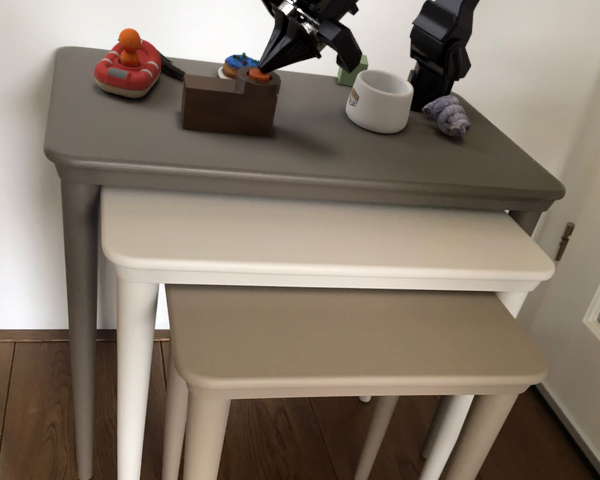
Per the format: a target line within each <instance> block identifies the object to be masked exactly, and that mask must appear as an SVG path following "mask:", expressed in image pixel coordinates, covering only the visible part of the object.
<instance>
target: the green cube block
mask: <svg viewBox="0 0 600 480" xmlns="http://www.w3.org/2000/svg"><path fill="white" fill-rule="evenodd" d="M364 70H369V59H368V56H367V54H362V58H361V61H360V64H359V65H358V66H357V67H356V68H355V69H354V70H353V71H352V72H351V73H350V74H349V73H348V72H346V71H345V70H343V69H342V68H341V67H339V66H338V70H337V81H338V84H339V85H342V86H343V85H344V86H347V87H351V88H353V86H354V83H355V80H356V78H357V75H358V74H359V73H360V72H362V71H364Z"/></svg>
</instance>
